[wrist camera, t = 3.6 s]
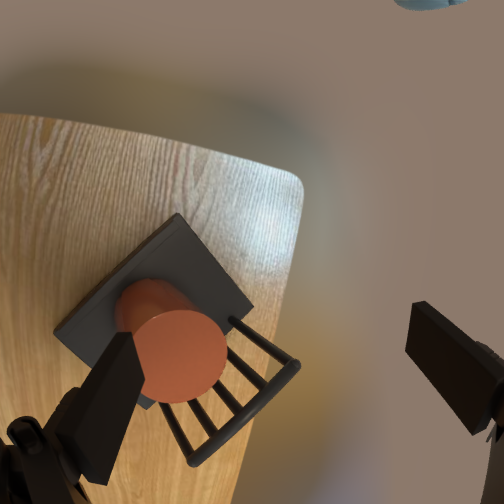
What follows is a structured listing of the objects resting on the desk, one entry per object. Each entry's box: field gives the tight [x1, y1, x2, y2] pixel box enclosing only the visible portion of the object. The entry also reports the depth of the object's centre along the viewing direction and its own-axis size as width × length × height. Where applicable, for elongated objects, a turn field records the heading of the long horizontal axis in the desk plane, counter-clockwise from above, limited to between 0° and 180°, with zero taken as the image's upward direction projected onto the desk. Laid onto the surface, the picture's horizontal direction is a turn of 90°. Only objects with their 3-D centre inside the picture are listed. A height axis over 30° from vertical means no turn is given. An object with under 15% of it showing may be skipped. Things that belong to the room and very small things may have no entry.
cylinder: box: [114, 278, 227, 403], centre depth 26 cm, size 8×8×10 cm
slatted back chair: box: [53, 213, 301, 467], centre depth 26 cm, size 18×14×14 cm
